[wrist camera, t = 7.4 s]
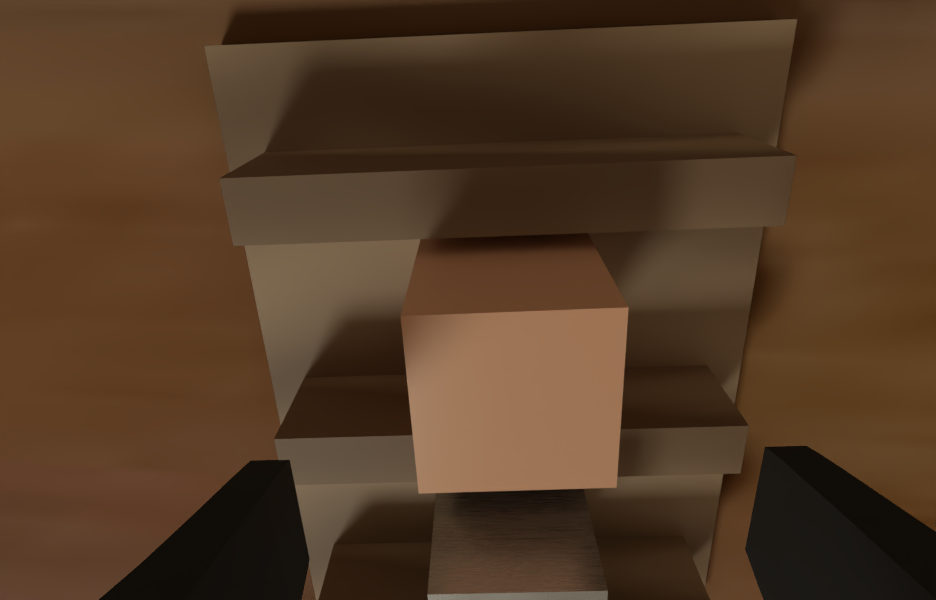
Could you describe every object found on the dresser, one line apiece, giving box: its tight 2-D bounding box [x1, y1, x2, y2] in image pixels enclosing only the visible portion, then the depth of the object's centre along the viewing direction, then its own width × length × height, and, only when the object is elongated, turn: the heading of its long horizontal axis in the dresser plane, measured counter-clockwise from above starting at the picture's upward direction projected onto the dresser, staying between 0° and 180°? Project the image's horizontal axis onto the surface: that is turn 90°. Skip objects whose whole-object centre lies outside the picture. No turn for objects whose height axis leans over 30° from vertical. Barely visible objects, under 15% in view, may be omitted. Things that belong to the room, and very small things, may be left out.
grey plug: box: [427, 489, 608, 600], centre depth 17 cm, size 4×4×6 cm
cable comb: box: [204, 19, 797, 600], centre depth 17 cm, size 20×14×4 cm
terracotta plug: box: [401, 233, 629, 494], centre depth 14 cm, size 4×4×6 cm
